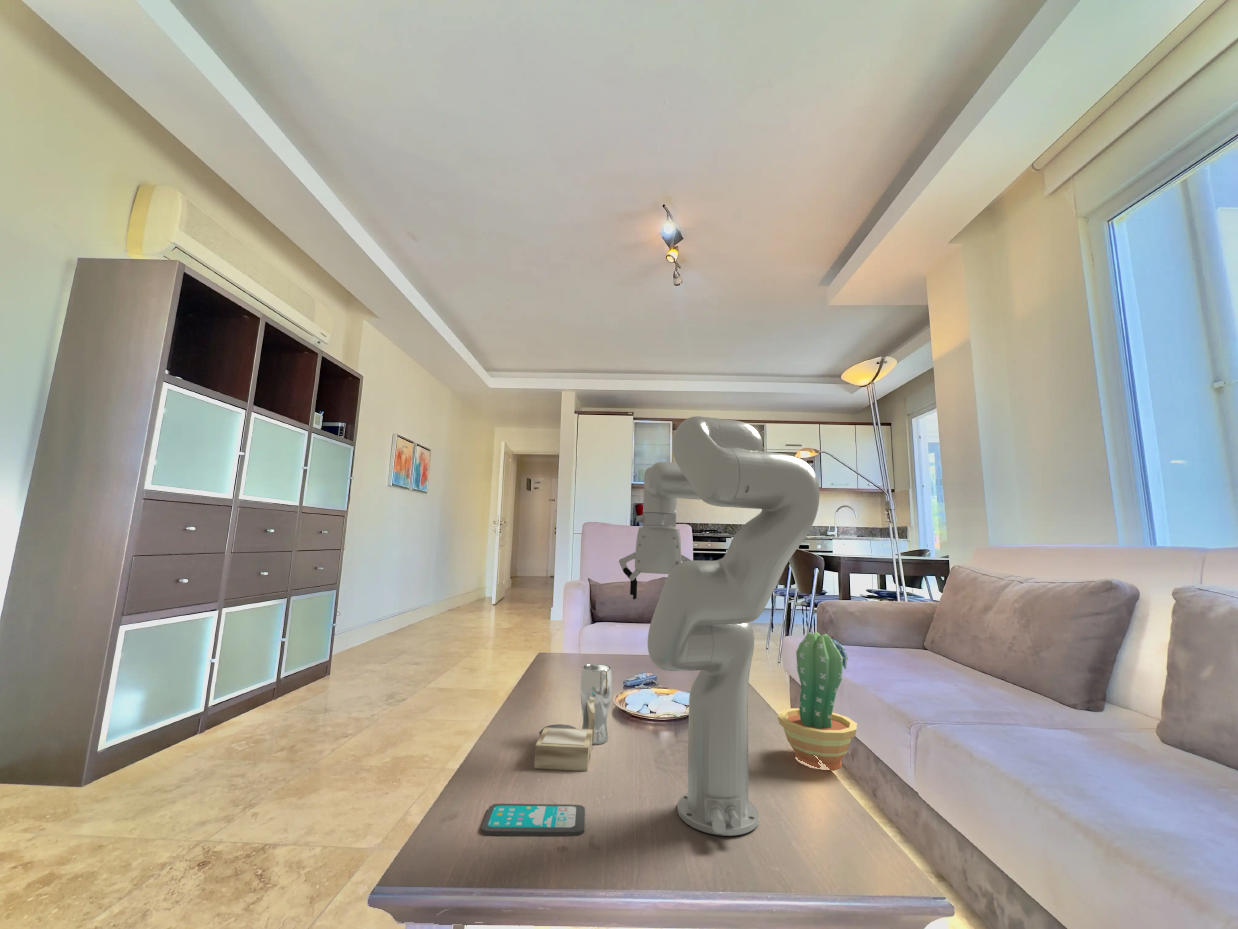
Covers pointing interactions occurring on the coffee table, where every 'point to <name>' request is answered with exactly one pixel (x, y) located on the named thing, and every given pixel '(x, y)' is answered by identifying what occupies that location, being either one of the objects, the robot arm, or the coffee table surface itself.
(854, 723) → the potted cactus
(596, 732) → the beer glass
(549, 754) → the oak plinth
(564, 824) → the smartphone
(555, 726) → the rubber coaster
